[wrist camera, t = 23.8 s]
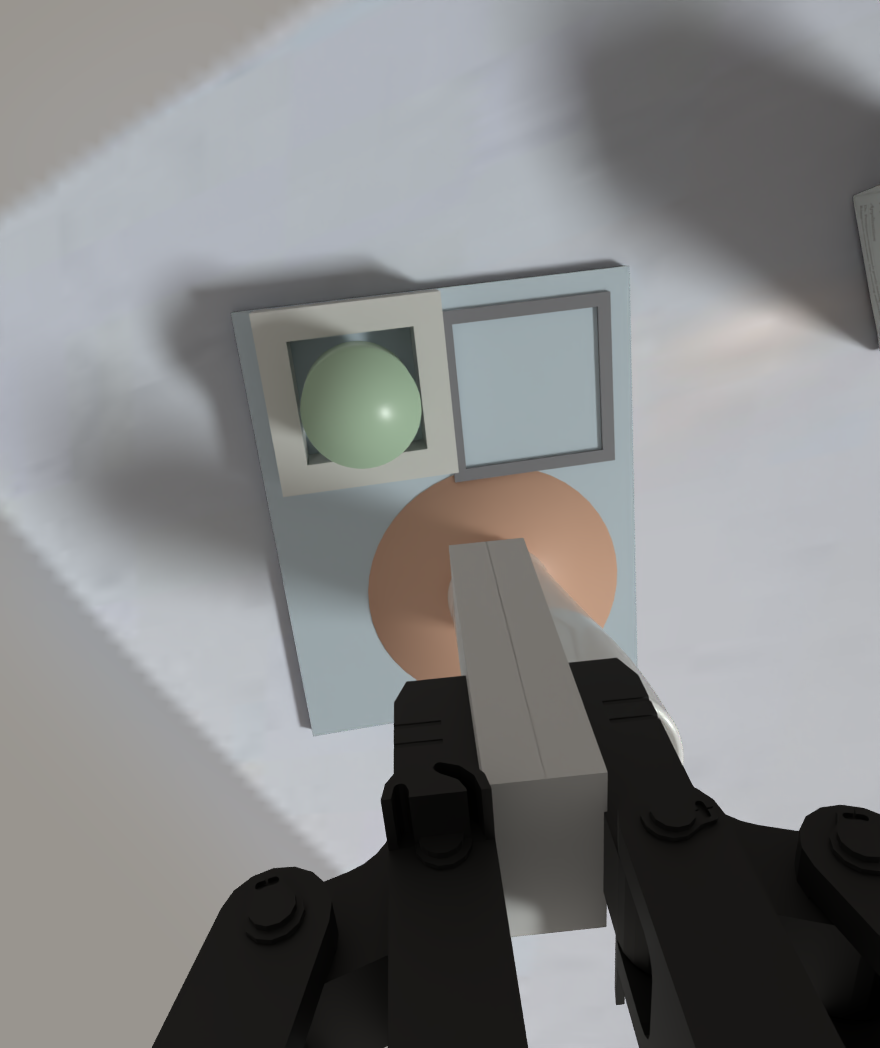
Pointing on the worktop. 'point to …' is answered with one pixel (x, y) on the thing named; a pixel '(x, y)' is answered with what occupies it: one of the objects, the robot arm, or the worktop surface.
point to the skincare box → (870, 243)
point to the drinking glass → (586, 639)
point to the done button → (360, 405)
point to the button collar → (340, 319)
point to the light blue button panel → (465, 488)
